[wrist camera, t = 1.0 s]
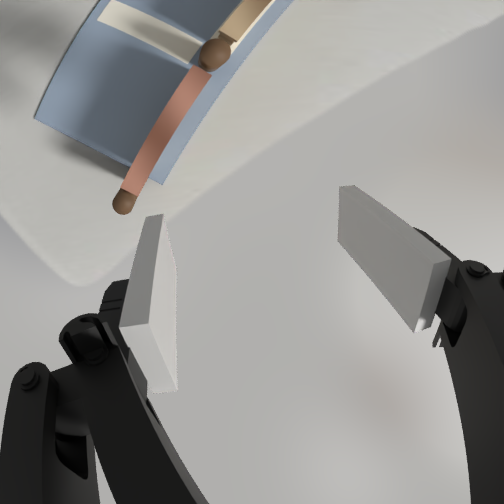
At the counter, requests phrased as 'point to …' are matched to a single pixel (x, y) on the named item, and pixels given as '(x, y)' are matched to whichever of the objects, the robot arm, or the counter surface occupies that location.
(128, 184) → the swing panel
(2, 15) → the counter surface
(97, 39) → the card
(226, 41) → the brown wall panel
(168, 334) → the robot arm
